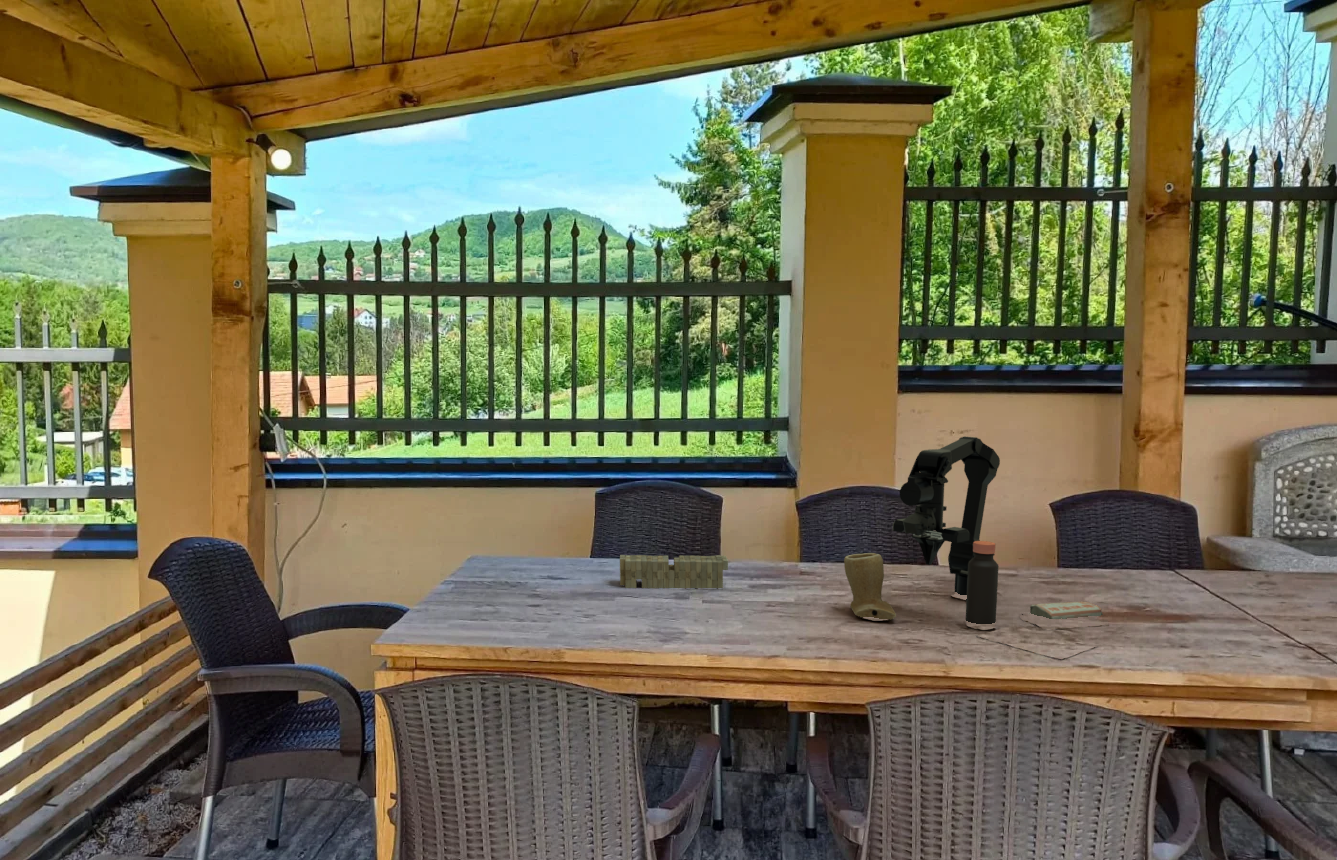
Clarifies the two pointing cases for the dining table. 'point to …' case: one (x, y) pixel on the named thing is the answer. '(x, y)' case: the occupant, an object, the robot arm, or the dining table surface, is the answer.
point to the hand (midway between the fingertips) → (928, 564)
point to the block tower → (673, 571)
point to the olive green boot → (867, 585)
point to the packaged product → (1066, 610)
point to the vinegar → (982, 584)
